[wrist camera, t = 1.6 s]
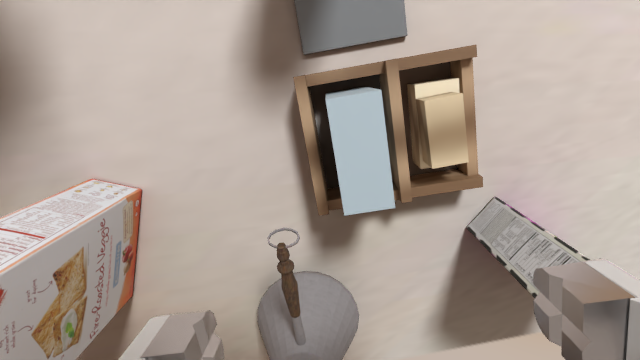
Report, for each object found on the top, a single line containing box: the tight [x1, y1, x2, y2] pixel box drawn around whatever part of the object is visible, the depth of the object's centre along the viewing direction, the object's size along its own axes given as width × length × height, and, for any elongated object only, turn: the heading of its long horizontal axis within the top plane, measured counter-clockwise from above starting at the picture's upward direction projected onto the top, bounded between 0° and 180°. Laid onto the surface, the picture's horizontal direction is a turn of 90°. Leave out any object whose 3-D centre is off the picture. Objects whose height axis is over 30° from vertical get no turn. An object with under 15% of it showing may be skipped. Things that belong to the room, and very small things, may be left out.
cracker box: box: [0, 179, 142, 360], centre depth 31 cm, size 14×6×21 cm, turn 168°
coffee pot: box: [258, 228, 359, 360], centre depth 34 cm, size 21×12×15 cm, turn 4°
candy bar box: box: [467, 197, 590, 298], centre depth 32 cm, size 11×5×16 cm, turn 55°
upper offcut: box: [416, 92, 469, 169], centre depth 32 cm, size 6×3×3 cm, turn 11°
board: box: [325, 87, 395, 216], centre depth 32 cm, size 9×4×11 cm, turn 10°
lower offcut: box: [407, 78, 462, 169], centre depth 35 cm, size 8×4×4 cm, turn 8°
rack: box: [293, 45, 483, 216], centre depth 34 cm, size 13×16×5 cm
